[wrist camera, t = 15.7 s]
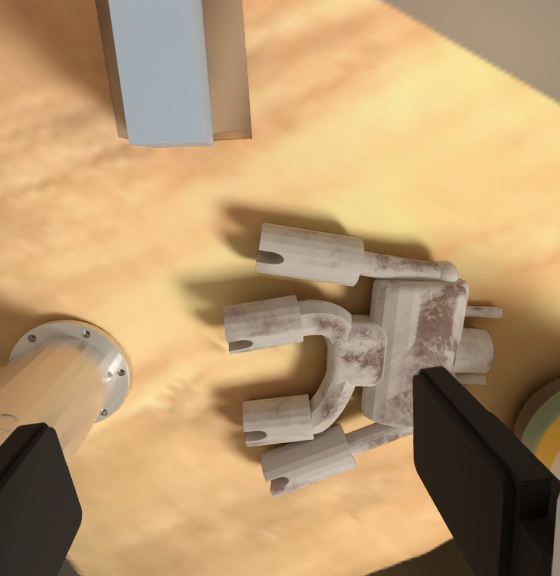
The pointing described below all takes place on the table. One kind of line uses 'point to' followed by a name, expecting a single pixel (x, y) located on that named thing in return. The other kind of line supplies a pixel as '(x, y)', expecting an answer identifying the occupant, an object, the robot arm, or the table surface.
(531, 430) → the vase
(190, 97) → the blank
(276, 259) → the white branched piece
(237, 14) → the open wooden box
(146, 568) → the table surface
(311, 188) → the table surface
